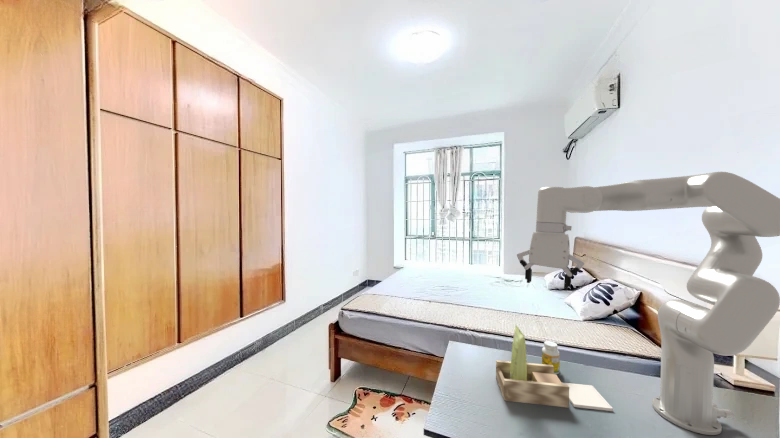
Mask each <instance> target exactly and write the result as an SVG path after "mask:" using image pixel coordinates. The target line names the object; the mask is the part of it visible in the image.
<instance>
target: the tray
mask: <svg viewBox="0 0 780 438" xmlns="http://www.w3.org/2000/svg"><path fill="white" fill-rule="evenodd" d="M510 369H511V360H510V361H509V360H497V359H496V360H495V378H496V382H497V384H498V387H499V390H500V392H501V396H502V397H503V400H504V401H506V402H515V403H525V404H532V405H533V404H534V405H542V406H549V407H550V406H551V407H559V408H560V407H561V408H570V401H569V386H568V385H564V384H554V383H544V382H534V381H532V372H539V373H548V374H554V367H553V365H546V364H542V363H533V362H527V381H523V380H513V379H510Z"/></svg>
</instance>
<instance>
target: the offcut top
mask: <svg viewBox="0 0 780 438" xmlns="http://www.w3.org/2000/svg"><path fill="white" fill-rule="evenodd" d="M532 380H533V381H534V382H544V383H554V384H562V383H563V382H562V381H561V380H560V378H559V377H558V374H548V373H539V372H532Z"/></svg>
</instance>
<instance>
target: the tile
mask: <svg viewBox="0 0 780 438" xmlns="http://www.w3.org/2000/svg"><path fill="white" fill-rule="evenodd" d="M562 384H564V385H568V386H569V403H570V404H571V405H572V406H573V408H580V409H590V410H599V411H607V412H614V407H612V405H610V404H609V402H608V401H607V400H606V399H605V398H604V397H603V396H602V395H601V393H600V392H599V391H598V390H597V389H596V388H595V386H594V385H591V384H581V383H569V382H562Z"/></svg>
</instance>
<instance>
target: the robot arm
mask: <svg viewBox="0 0 780 438" xmlns="http://www.w3.org/2000/svg"><path fill="white" fill-rule="evenodd" d="M536 207H537V208H536V218H535V219H536V220H535V221H536V222H535V224H536V225H535V231H533V233H532V237H531V240H530V245H529V249H528V250H525V251H522V252H519V253H517V254H516V257H517V259H518V261H519V264H520V265H521V266H522V267H523V269H524V270H525V272H524V274H525V275H524V279H525V280H526V283H527V284H530V283H531V282H532V276H533V271H532V270H533V269H532V267H533V266H540V267H547V268H553V269H559V270H560V269H562V271H563V272H564V273H565V275H564V283H563V290H564V291H568V289H569V288H571V285H572V276H574V275H575V274H577V273H579V271H581V269H582V268H583V267H584V265H585V261H583V260H581V259H579V258H578V257H575V256H574V255H572V254H570V251H571V250H570V249H571V248H570V237H569V234H567V233H566V232H568V231H571V232H572V228H573V227H572V225H568V224H567V213H571V214H574V213H575V214H577V213H578V214H587V213H589V214H590V213H592V212H601V211H603V212H605V211H606V212H607V211H622V212H636V211H637V212H640V211H641V212H642V211H654V210H655V211H656V210H671V209H686V208H705V209H704V210H703V212H702V214H701V221H702V224H703V226H704V227H705V229H706V231H707V233H708V235H709V237H710V243H711V244H710V248H709V250H708V252H707V253H706V255H705V256H704V258H703V259H702V260H701V261H700V263H699V265H697V267H696V268H695V270H694V272H693V273H692V274H691V275H690V277H689V278H688V280H687V282H686V290H687V292H688V293H689V294H690V295H691V296H692V297H694V298H695V299H697V300H699V301H702V302H704V303H707V304H709V305H713V306H712V308H711V309H710V308H709V307H705V306H703V305H700V304H698V303H694V302H691V301H689V300H685V299H684V300H683V299H669V300H666V301H664V302H663V303H662V304H661V305H660V306H659V308H658V310H657V321H658V326H659V331H660V338H661V339H660V341H661V351H660V352H661V353H660V380H659V381H660V384H659V386H660V387H659V388H660V389H659V396H656V397H654V398H652V403H651V404H652V407H653V409H654V411H656V412H657V414H658V415H660V416H662V418H664V419H666V420H667V421H669V422H670V423H672V424H675V425H676V426H678V427H680V428H682V429H685V430H687V431H690V432H693V433H696V434H701V435H705V436H717V435H720V434H721V433H722V428H723V427H722V424H721V422H720V421H719V420H718V419H721V418H723V419H724V418H727V419H735V414H734V412H733V411H732V410H731V409H725V408H719V407H718V405H717V404H716V403H714V402H713V401H714V374H715V372H714V371H715V357H714V354H715V355H718V356H724V357H725V356H727V357H728V356H736V355H738V354H741V353H743V352H744V351H746V349H748V348H749V347H750V346H751V345H752V343H753V342H754V341H755V340H756V339H757V338H758V336H759V335H760V334H761V333H762V331H764V329H765V328H766V327H767V325H768V324H769V323H770V322H771V320H772V319H773V318H774V317H775V315H776V313H778V311H779V308H780V294H779V292H778V290H777V289H776V288H775V286H774V285H773V284H772V283H770V282H769V281H766V280H765V279H762V278H760V277H757V276H754V274H755V273H756V271H757V269H758V268H759V266H760V265H761V263H762V261H763V250H762V248H761V245H760V244H759V241H758V239H757V237H758V238H772V237H773V238H775V237H780V197H778V196H776V195H775V194H773V193H771V192H769V191H767V190H766V189H764V188H762V187H761V186H759V185H757V184H756V183H754V182H752V181H750V180H748V179H746V178H744V177H743V176H739V175H737V174H734V173H733V172H727V171H714V172H707V173H699V174H693V175H683V176H673V177H661V178H649V179H637V180H630V181H626V182H621V183H616V184H610V185H609V184H608V185H602V186H590V185H585V186H584V185H583V186H574V187H563V186H545V187H544V186H543V187H541V188H539V189H538V192H537V204H536ZM525 256H528V262H527V261H526V260H525V259H524V257H525ZM570 261H571V262H573V263H575V264H576V265H575V267H573V268H572V269H571V268H570V267H569V265H570Z"/></svg>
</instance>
